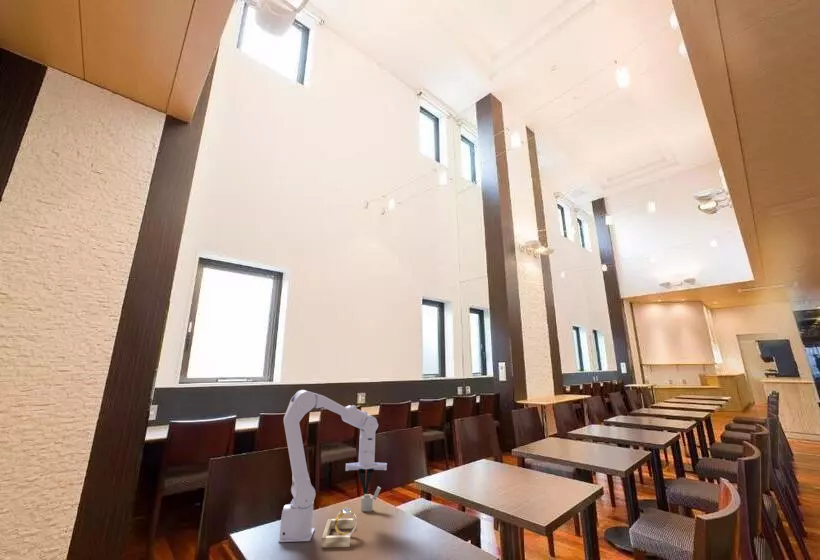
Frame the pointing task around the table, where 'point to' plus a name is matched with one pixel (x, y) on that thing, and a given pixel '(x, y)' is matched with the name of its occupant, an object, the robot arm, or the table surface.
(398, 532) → the table surface
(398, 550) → the table surface
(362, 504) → the lighter
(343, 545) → the keeper
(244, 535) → the table surface
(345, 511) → the ring
